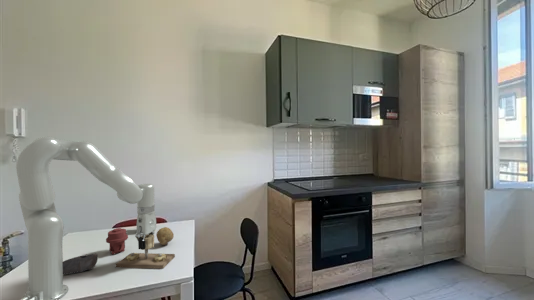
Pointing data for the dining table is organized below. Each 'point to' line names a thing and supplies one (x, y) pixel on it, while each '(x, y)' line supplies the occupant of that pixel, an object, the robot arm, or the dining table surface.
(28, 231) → the robot arm
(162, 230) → the natural sponge
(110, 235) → the mechanical component
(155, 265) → the gear board
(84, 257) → the perforated stone tool
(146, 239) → the birch gear
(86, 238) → the dining table surface
